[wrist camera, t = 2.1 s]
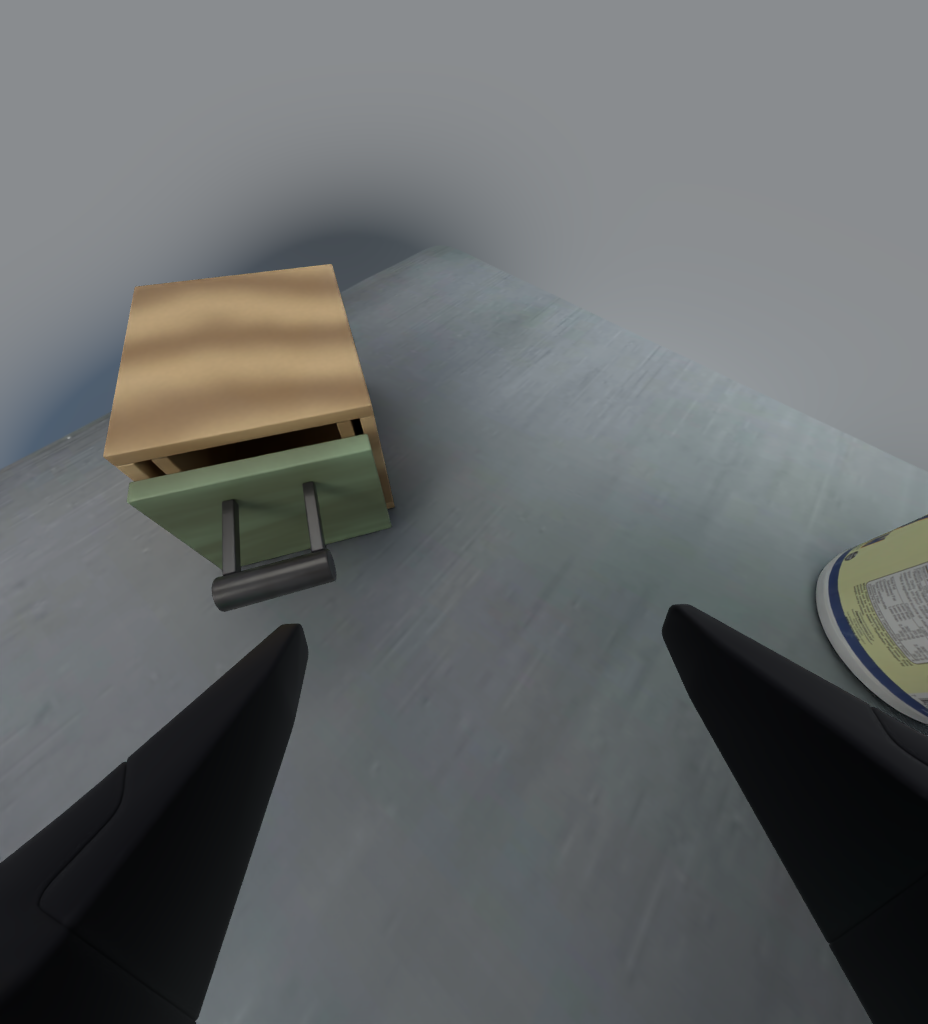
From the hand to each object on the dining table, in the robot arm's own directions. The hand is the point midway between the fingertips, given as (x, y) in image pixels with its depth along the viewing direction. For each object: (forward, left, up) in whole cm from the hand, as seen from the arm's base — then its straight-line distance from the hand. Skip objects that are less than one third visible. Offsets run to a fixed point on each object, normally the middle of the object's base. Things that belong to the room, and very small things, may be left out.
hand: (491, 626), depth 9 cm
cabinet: (+7, +21, -16) cm, 27 cm away
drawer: (+4, +17, -15) cm, 23 cm away
